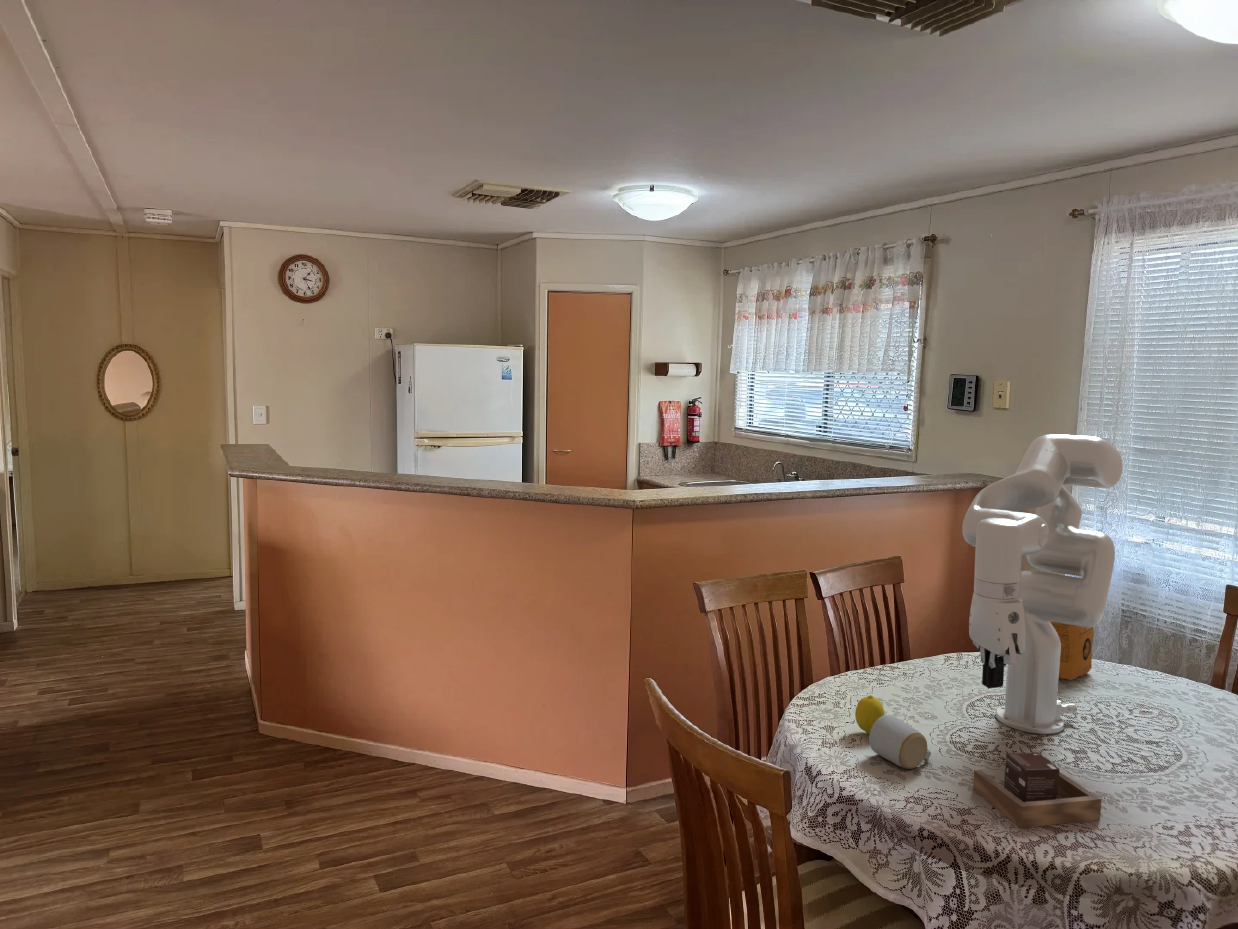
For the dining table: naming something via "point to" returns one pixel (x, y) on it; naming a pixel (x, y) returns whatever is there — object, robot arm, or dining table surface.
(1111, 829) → the dining table surface
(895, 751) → the ceramic mug
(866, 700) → the lemon
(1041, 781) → the box
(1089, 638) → the coffee package
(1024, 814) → the bay
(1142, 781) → the dining table surface
